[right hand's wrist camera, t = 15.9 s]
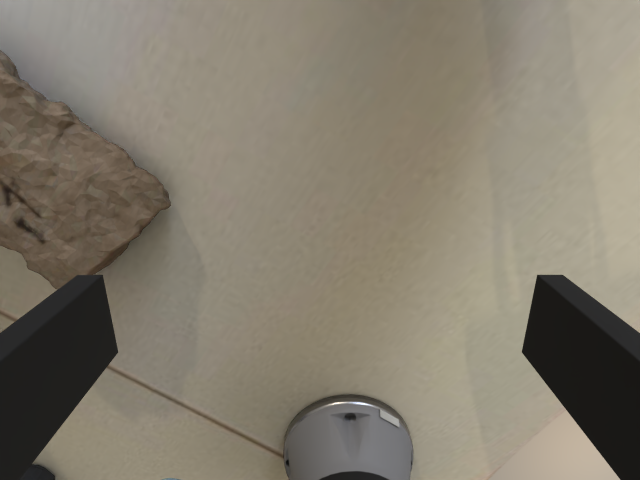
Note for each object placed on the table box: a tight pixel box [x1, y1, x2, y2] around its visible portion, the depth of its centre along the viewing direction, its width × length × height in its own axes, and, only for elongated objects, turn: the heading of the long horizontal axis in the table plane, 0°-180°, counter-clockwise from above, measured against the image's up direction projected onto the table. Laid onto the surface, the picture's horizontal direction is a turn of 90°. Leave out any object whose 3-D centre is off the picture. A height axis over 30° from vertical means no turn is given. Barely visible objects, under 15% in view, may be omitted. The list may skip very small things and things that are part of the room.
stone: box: [0, 50, 171, 289], centre depth 35 cm, size 21×15×6 cm
